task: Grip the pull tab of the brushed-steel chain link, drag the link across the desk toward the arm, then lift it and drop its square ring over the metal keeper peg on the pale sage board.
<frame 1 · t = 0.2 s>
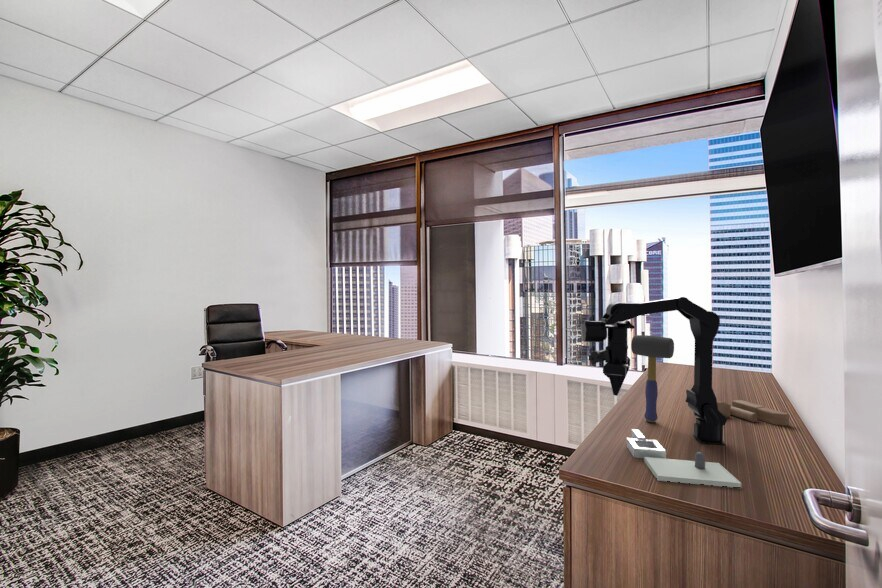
hand: (617, 391, 128), 14 cm above the sideboard, tool pointing down, fingers open, 9 cm apart
wooden block set: (745, 421, 144), on the sideboard
rubber mallet: (650, 422, 141), on the sideboard
keeper board: (689, 473, 102), on the sideboard
steel link: (645, 452, 114), on the sideboard
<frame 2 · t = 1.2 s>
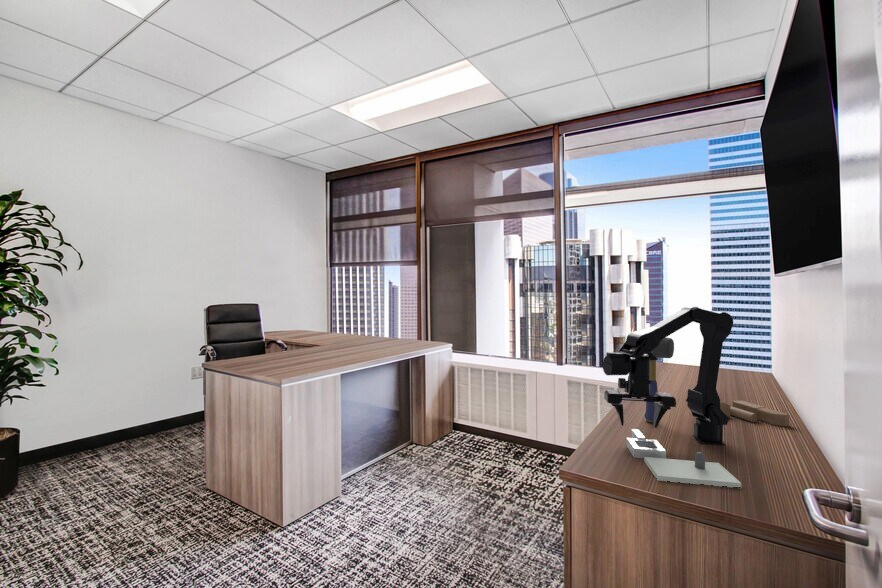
hand: (638, 426, 122), 5 cm above the sideboard, tool pointing down, fingers open, 9 cm apart
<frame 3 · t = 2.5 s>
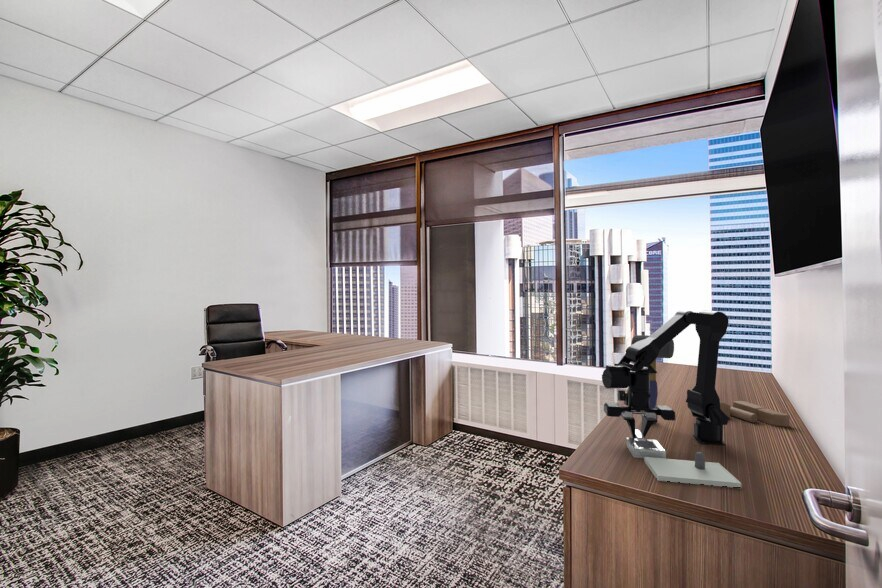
hand: (637, 439, 122), 1 cm above the sideboard, tool pointing down, fingers closed on steel link, 2 cm apart
steel link: (645, 452, 114), on the sideboard, touching gripper
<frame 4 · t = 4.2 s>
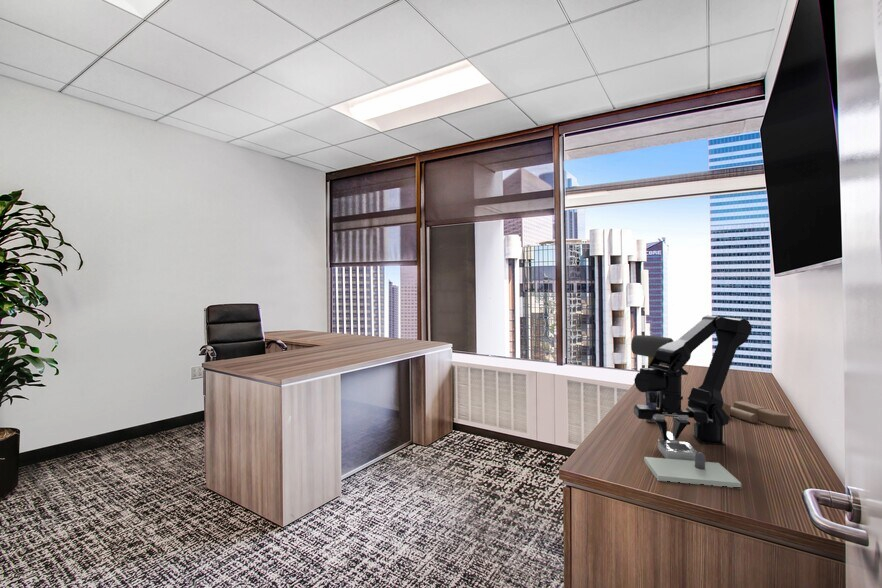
hand: (669, 442, 120), 1 cm above the sideboard, tool pointing down, fingers closed on steel link, 2 cm apart
steel link: (677, 455, 113), on the sideboard, touching gripper
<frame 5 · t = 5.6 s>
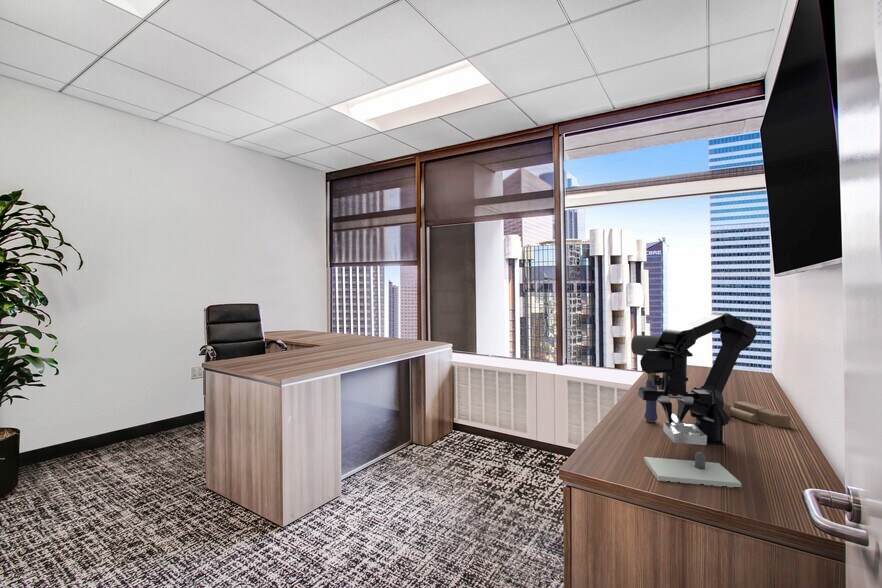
hand: (674, 424, 120), 6 cm above the sideboard, tool pointing down, fingers closed on steel link
steel link: (684, 437, 112), point 5 cm above the sideboard, touching gripper
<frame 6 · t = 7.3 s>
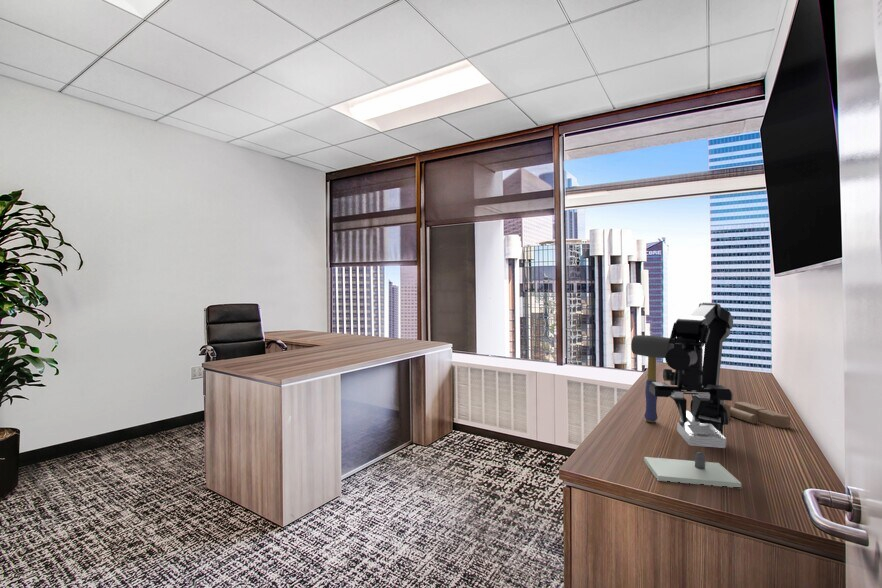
hand: (688, 422, 110), 10 cm above the sideboard, tool pointing down, fingers closed on steel link
steel link: (700, 438, 103), point 8 cm above the sideboard, tilted 6°, touching gripper
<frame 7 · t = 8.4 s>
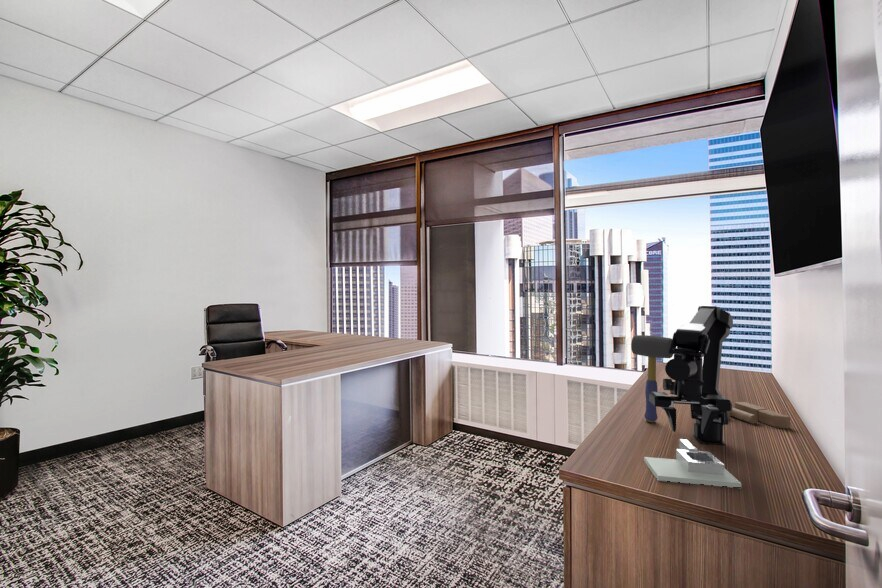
hand: (688, 432, 110), 8 cm above the sideboard, tool pointing down, fingers open, 7 cm apart
steel link: (699, 466, 103), point 1 cm above the sideboard, touching keeper board
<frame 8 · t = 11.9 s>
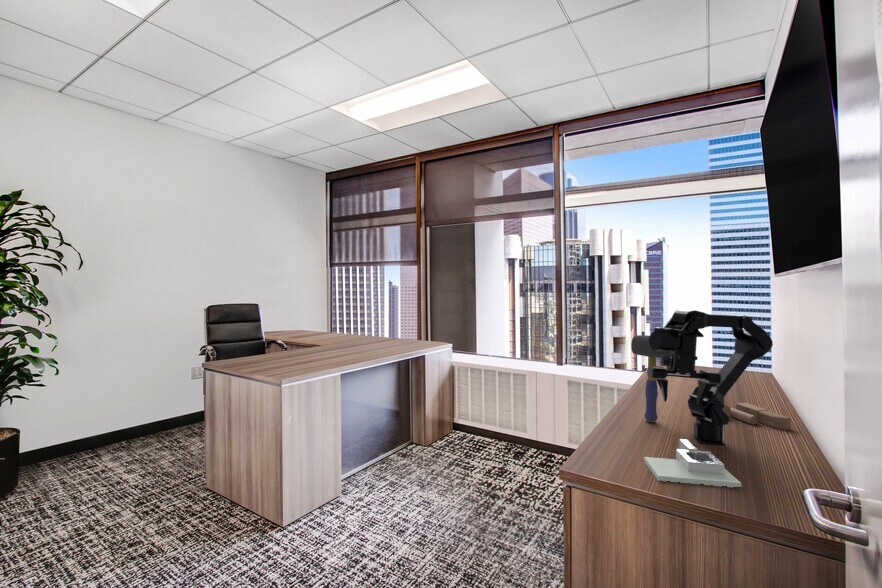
hand: (681, 402, 122), 12 cm above the sideboard, tool pointing down, fingers open, 9 cm apart
at the end: steel link 0.8 cm from the target spot, point 1.2 cm above the sideboard; the gripper is holding nothing; steel link moved 13.7 cm from its start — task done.
